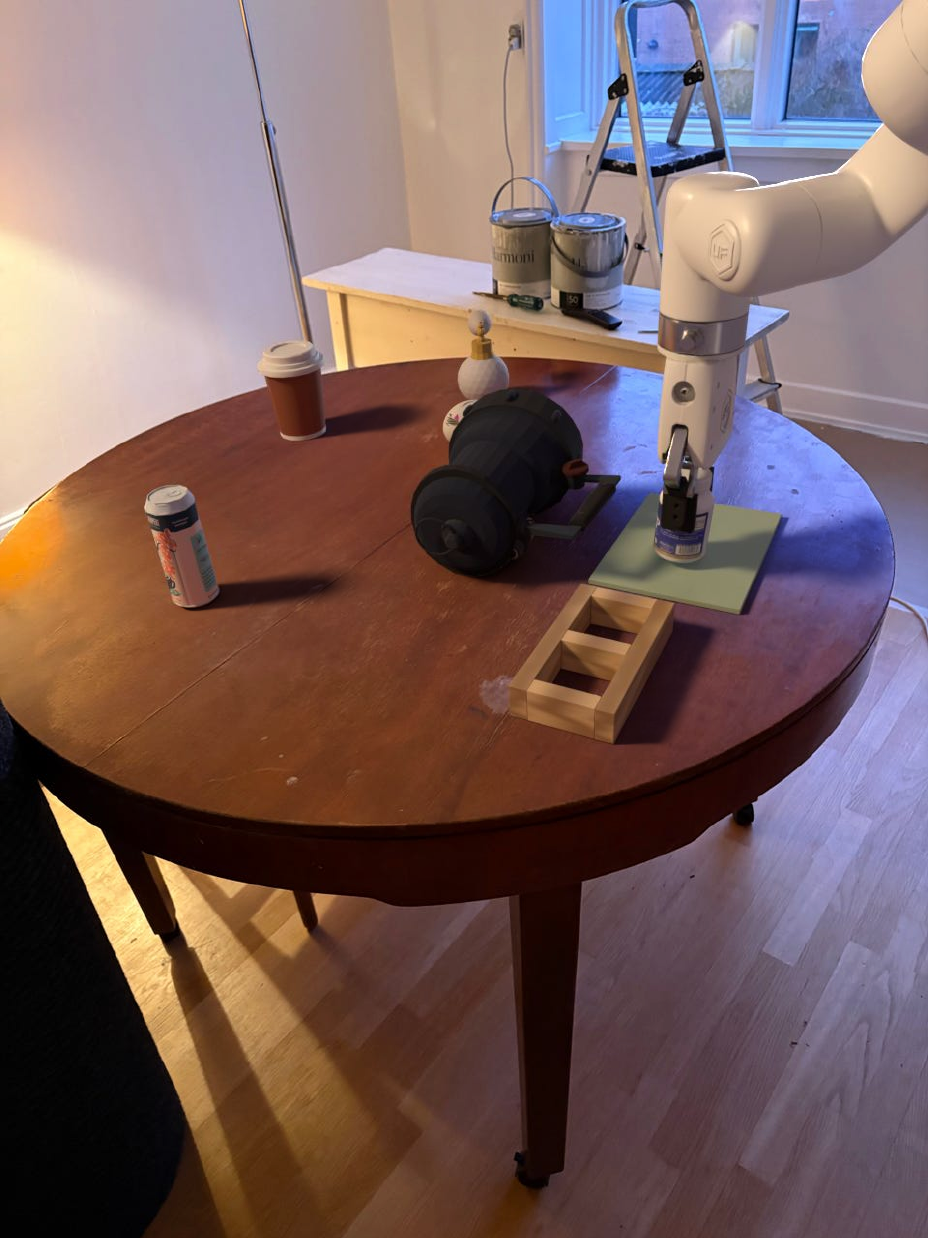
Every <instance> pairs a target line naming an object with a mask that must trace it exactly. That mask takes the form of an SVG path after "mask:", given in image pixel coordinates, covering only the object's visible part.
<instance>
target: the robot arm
mask: <svg viewBox="0 0 928 1238" xmlns="http://www.w3.org/2000/svg"><path fill="white" fill-rule="evenodd" d="M861 80H862V86H863V89H864V92H865V93H864V94H865V95H866V98H867V100H868V103H869V105H870V107H871V108H872V109H873V111H874V113H875V114H876V116H877V117H878V119H879V120H880V121H881V122H882V124H881V125H880V126H879V127H878V128H877V129H876V131H875V132H874V133H873V134H872V135H871V136H870V137H869V138H868V139H867V141H865V143H864V144H863V145H862V146H860V148H859V149H858V150H857V151H856V152H855V153H854V154H853V155H852V156H851V157H850V158H849V159H848V160H847V161H846V162H845V163H844V164H843V165H842V166H841V167H839V168H838V169H836V170H835V171H834V172H832V173H826V174H819V175H814V176H808V177H803V178H797V179H793V180H787V181H782V182H778V183H776V184H770V185H764V186H761V185H760V183H759V181H758V180H757V179H756V178H755V177H754V176H751V175H748V174H746V173H741V172H733V171H709V172H700V173H693V174H688V175H685V176H682V177H680V178H678V179H676V180H675V181H674V182H673V183H672V184H671V186H670V187H669V189H668V191H667V194H666V198H665V206H664V207H665V208H664V223H663V239H662V242H663V243H662V255H661V256H662V257H661V258H662V260H661V274H660V275H661V276H660V293H659V310H658V329H657V343H656V344H657V345H656V349H657V351H658V353H660V354H661V355H663V356H664V357H666V358H665V365H664V371H663V372H664V373H663V378H662V389H661V396H660V397H661V398H660V407H659V419H658V430H657V431H658V432H657V459H658V461H659V462H660V463H661V464H662V465H664V470H663V474H662V482H663V486H662V490H663V499H662V514H661V527H662V528H664V529H669V530H674V531H680V532H686V533H692V532H693V531H694V529H695V523H696V512H697V501H698V494H696V493H695V488H696V481H697V475H698V469H699V468H702V470H707V469H709V470H710V471H711V472H712V482H711V486H710V489H709V490H710V491H711V492H712V493H713V487H714V477H715V466H714V464H715V463H716V462H717V460H718V458H719V457H720V455H721V454H722V453H723V450H724V449H725V447H726V445H727V444H728V442H729V441H730V438H731V437H732V433H733V430H734V429H733V428H734V417H735V405H736V404H735V403H736V388H737V373H738V372H737V370H738V356H740V355H742V354H743V353H744V351H745V349H746V341H747V334H748V333H747V331H748V324H749V317H750V316H749V314H750V307H751V306H750V305H751V299H752V298H756V297H763V296H766V295H770V294H774V293H779V292H783V291H786V290H790V289H793V288H796V287H800V286H803V285H809V284H813V283H818V282H821V281H825V280H829V279H834V278H838V277H842V276H845V275H847V274H850V273H852V272H855V271H857V270H859V269H861V268H863V267H864V266H866V265H868V264H869V263H871V262H872V261H874V260H875V259H877V258H878V257H880V256H881V255H882V254H883V253H884V252H885V251H886V250H888V249H889V248H890V247H891V246H893V244H895V243H896V242H897V241H899V239H900V238H902V237H903V236H904V235H905V234H907V232H909V231H910V230H911V229H912V228H914V227H915V225H917V224H918V223H919V222H920V221H921V220H922V219H924V218H925V217H926V216H927V215H928V0H902V1H901V2H900V3H899V5H898V6H896V8H895V9H894V10H893V12H892V13H891V14H890V15H889V16H888V17H887V19H886V20H884V22H883V23H882V24H881V25H880V26H879V28H878V29H876V31H875V33H874V34H873V35H872V37H871V39H870V40H869V42H868V43H867V46H866V49H865V51H864V53H863V56H862V60H861ZM682 469H687V470H690V473H689V480H688V481H687V478H686V476H682Z"/></svg>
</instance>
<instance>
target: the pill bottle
mask: <svg viewBox="0 0 928 1238" xmlns="http://www.w3.org/2000/svg"><path fill="white" fill-rule="evenodd" d="M689 473H690V470H687V469H682V476H686V478H687V481H688V480H689ZM711 482H712V472H711V471H710V470H709V469H707V470H702V468H699V469H698V475H697V481H696V488H695V493H696V494H698V501H697V512H696V523H695V529H694V531H693V532H692V533H686V532H680V531H674V530H669V529H664V528H662V527H661V514H662V499H663V489H662V491H660V500H659V507H658V514H657V522H656V529H655V536H654V543H653V547H654V550H655V552H656V553H657V554H658V555H659V556H660V557H662V558H664V559H666V560H669V561H672V562H677V563H689V562H694V561H697V560H699V559H700V558H702V557H703V556H704V554H705V552H706V547H707V542H708V536H709V530H710V525H711V520H712V514H713V509H714V503H716V501H715V495H714V493H713V491H712V492H711V491H710V490H709V489H710V486H711Z"/></svg>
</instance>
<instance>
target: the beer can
mask: <svg viewBox="0 0 928 1238" xmlns="http://www.w3.org/2000/svg"><path fill="white" fill-rule="evenodd" d="M143 509H144V512H145V514H146V518H147V521H148V524H149V528H150V531H151V533H152V537H153V540H154V544H155V547H156V550H157V553H158V557H159V559H160V563H161V566H162V568H163V573H164V575H165V579H166V582H167V586H168V589H169V592H170V595H171V596H170V597H171V599H172V602H173V603H174V604H175V605H176V606H179V607H181V608H189V609H193V608H200V607H204V606H206V605H207V604H209V603H211V602H212V601H213V600H214V599H216V597H217V596H218V595H219V593H220V588H219V586H218V582H217V578H216V574H215V571H214V567H213V564H212V563H213V562H212V559H211V556H210V552H209V548H208V545H207V540H206V537H205V534H204V529H203V526H202V523H201V519H200V513H199V511H198V507H197V503H196V498H195V495H194V494H193V493H192V492H191V491H190V490H189V489H188V488H187V486H184V485H182V484H181V485H180V484H168V485H163V486H160V487H157V488H155V489H153V490H152V491H150V492H149V493H148V494H147V495H146V499H145V504H144V507H143Z"/></svg>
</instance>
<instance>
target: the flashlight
mask: <svg viewBox="0 0 928 1238" xmlns="http://www.w3.org/2000/svg"><path fill="white" fill-rule="evenodd" d="M463 416H464V417H463V418H462V420H461V421H460V422H459V424H458V425H457V426H456V428H455V429H454V430H453V433H452V436H451V439H450V442H449V441H448V442H449V443H448V464H444V465H440V466H438V467H435V468H433V469H432V470H430V471H429V472H428V473H426V475H424V476H423V477H422V479H421V480H420V482H419V483H418V485H417V486H416V489H415V490H414V491H413V493H412V498H411V502H410V521H411V525H412V530H413V533H414V538H415V540H416V542H417V544H418V545H419V546H420V547H421V549H422V550H424V552H425V553H426V554H427V555H428V556H429V557H430V558H431V559H432V560H433V561H435V562H436V564H438V565H440V566H442V567H443V568H444V569H447V570H448V571H450V572H452V573H455V574H458V575H461V576H468V577H482V576H489V575H491V574H492V573H495V572H496V571H499V570H500V569H501V568H505V567H506V566H507V565H508V564H509V562H510V561H517V560H519V559H520V558H521V557H522V555H523V554H524V553H526V551H527V550H528V548H529V546H530V544H531V542H532V539H533V538H534V536H537V537H545V538H555V539H565V540H575V538H576V537H577V536H578V535H579V533H581V532H585V531H586V530H587V529H588V528H589V526H590V525H591V524H592V522H594V520H595V519H596V517H597V516H598V514H599V513H600V512H601V511H602V510H603V508H604V507H605V506H606V505H607V503H608V502H609V501H610V500H611V499H612V498H613V496H614V495H615V493H616V491H617V485H618V484H619V483H620V481H621V480H622V476H621V474H589V470H590V467H589V466H590V465H589V463H587V462H586V461H583V456H584V442H583V438H582V435H581V431H580V429H579V427H578V426H577V424H576V422H575V420H574V418H573V417H572V416H571V415H570V414H569V413H568V412H567V411H566V409H564V407H563V406H561V405H560V404H559V403H557V402H556V401H554V400H553V399H551V398H550V397H548V396H545V395H544V394H541V393H538V392H536V391H533V390H528V389H522V388H517V387H516V388H507V389H503V390H498V391H495V392H492V393H489V394H487V395H484V396H483V397H482V398H480V399H479V400H477V401H476V402H475V403H473V405H468V406H467V407H466V408H465V410H464V411H463ZM586 483H590V484H597V485H596V486H595V487H594V488H593V489H592V490H591V491H590V492H589V493H588V494H587V496H586V497H585V498H584V500H583V501H582V503H581V504H580V507H579V508H578V510H577V511H576V512H575V513H574V514H573V516H571V518H570V520H569V522H568V525H560V524H550V523H549V524H547V523H536V521H535V520H533V519H532V518H531V517H532V516H534V515H539V514H541V513H544V512H546V511H548V510H551V509H552V508H554V506H556V505H557V504H560V503H561V502H562V501H563V499H564V497H565V496H566V495H567V493H568V491H569V490H572V491H579V490H582V489H584V488H585V485H586Z"/></svg>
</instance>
